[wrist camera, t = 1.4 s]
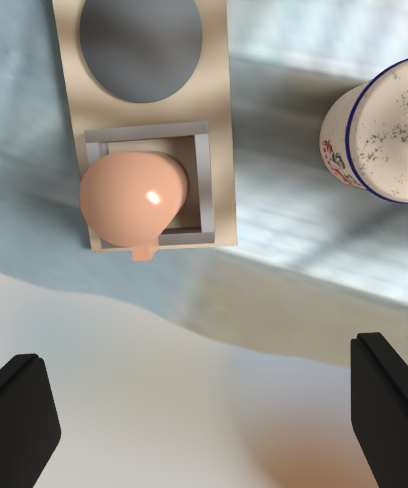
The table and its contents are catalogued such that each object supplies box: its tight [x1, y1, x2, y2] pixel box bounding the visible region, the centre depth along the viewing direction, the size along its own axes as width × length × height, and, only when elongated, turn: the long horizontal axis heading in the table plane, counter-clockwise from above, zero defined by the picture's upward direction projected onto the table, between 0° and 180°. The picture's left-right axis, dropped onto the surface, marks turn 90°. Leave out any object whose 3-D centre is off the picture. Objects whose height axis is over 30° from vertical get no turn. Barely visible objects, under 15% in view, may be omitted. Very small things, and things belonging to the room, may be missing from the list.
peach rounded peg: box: [79, 151, 190, 261], centre depth 27 cm, size 8×6×10 cm
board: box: [52, 0, 238, 253], centre depth 30 cm, size 24×14×4 cm, turn 4°
